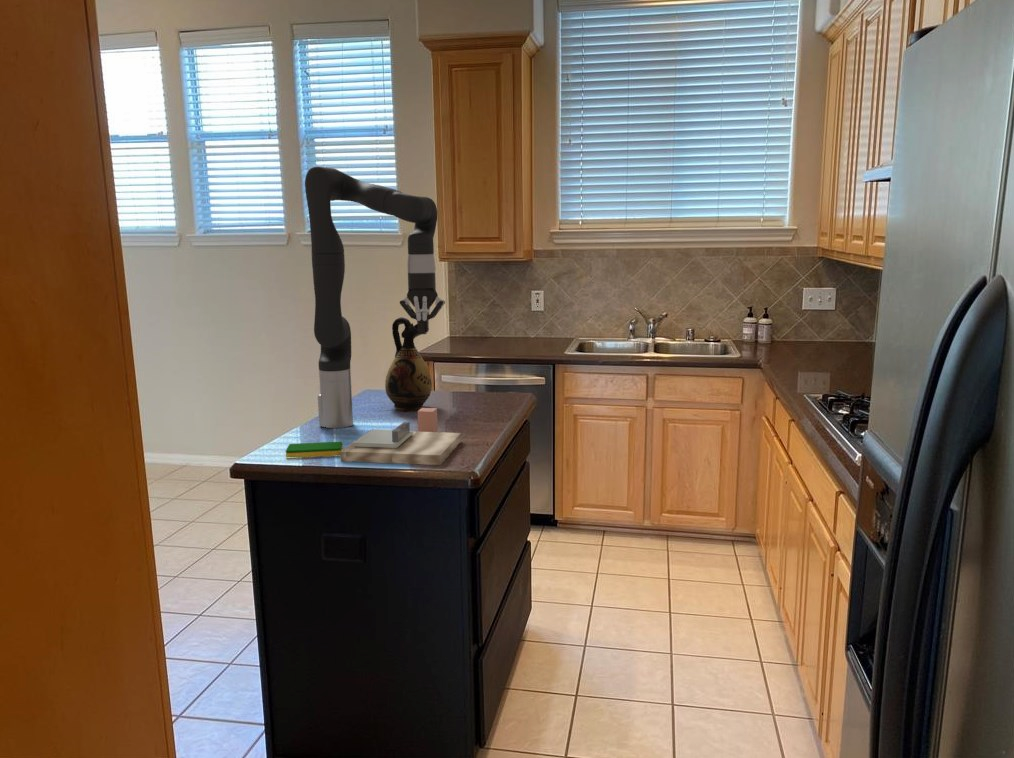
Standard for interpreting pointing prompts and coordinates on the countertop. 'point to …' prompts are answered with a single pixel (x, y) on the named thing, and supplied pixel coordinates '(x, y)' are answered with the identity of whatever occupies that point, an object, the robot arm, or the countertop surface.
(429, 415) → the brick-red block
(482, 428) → the countertop surface
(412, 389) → the ceramic jug
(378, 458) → the board
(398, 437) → the cover
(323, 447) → the dish sponge
